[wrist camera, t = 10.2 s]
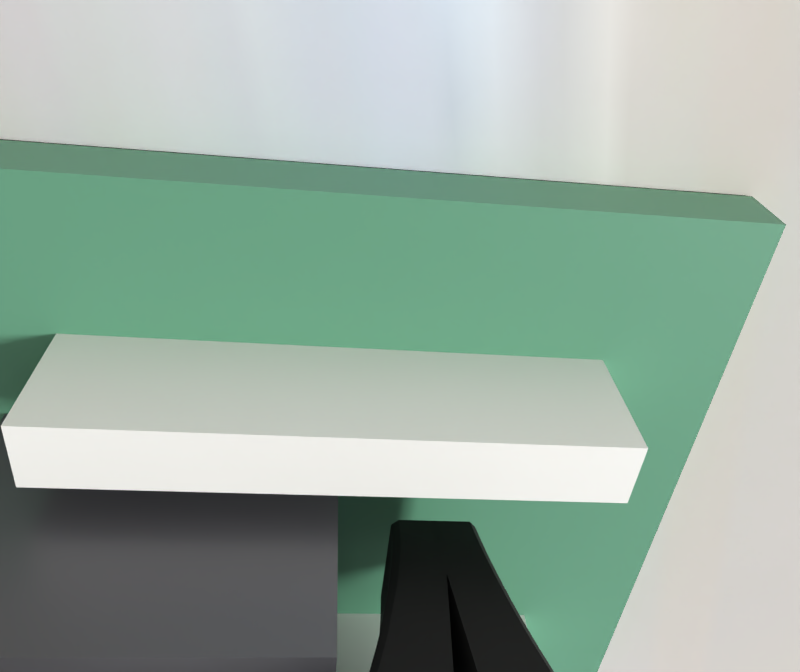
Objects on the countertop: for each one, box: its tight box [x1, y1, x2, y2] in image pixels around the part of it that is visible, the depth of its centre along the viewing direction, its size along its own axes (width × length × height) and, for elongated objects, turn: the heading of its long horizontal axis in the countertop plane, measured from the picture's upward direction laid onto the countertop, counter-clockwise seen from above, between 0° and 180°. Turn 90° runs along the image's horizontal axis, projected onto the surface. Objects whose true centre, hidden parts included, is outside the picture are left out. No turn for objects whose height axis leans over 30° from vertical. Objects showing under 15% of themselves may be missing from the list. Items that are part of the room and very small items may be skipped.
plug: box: [0, 414, 338, 672], centre depth 11 cm, size 4×5×4 cm
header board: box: [0, 140, 786, 672], centre depth 12 cm, size 12×14×4 cm
